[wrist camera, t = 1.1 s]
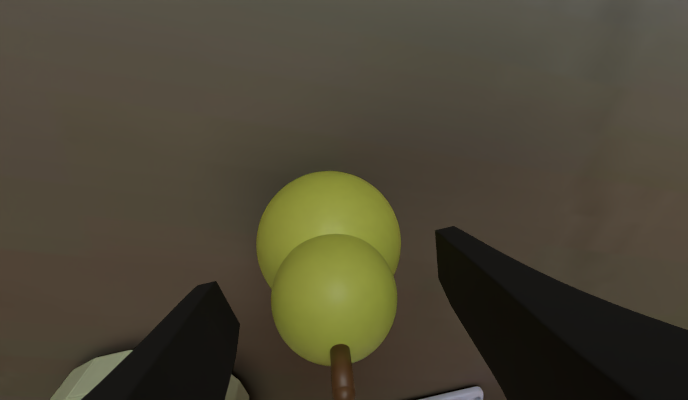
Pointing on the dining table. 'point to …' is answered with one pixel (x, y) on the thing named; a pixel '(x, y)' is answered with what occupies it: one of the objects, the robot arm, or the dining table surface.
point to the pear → (331, 270)
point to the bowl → (100, 367)
